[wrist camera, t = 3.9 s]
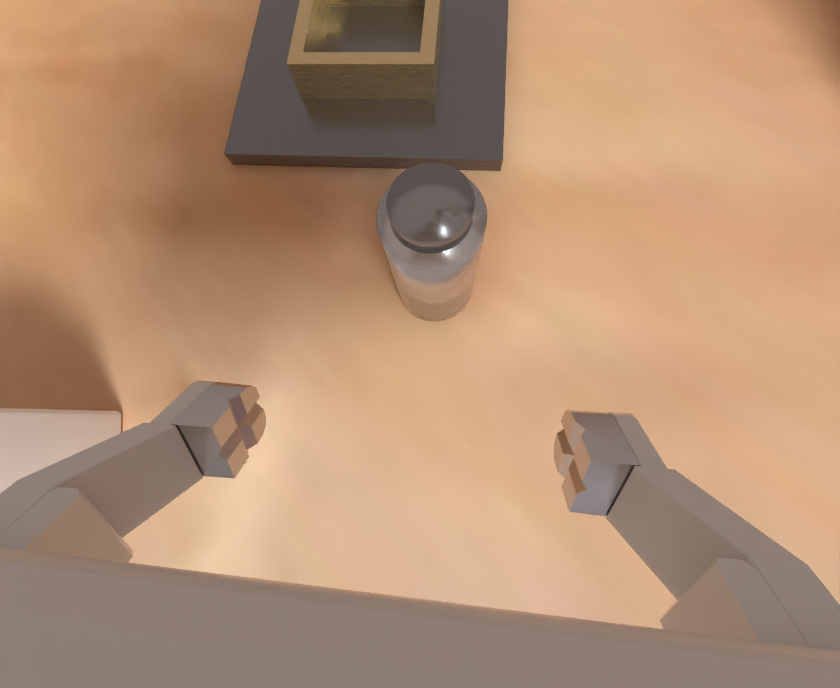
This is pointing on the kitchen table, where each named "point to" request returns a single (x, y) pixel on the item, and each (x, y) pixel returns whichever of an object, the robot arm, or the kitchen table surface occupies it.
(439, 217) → the domed metal canister
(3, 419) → the medicine bottle
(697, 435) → the kitchen table surface
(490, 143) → the collar plate
